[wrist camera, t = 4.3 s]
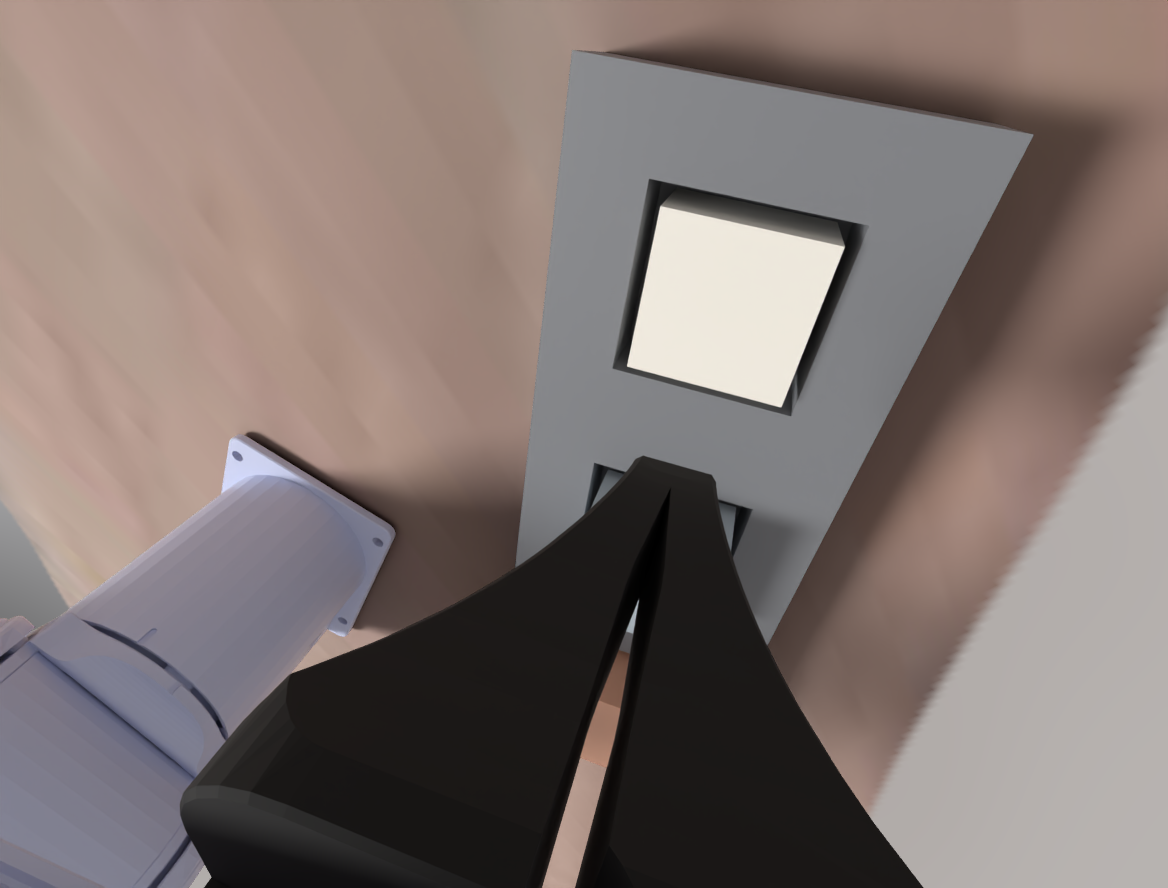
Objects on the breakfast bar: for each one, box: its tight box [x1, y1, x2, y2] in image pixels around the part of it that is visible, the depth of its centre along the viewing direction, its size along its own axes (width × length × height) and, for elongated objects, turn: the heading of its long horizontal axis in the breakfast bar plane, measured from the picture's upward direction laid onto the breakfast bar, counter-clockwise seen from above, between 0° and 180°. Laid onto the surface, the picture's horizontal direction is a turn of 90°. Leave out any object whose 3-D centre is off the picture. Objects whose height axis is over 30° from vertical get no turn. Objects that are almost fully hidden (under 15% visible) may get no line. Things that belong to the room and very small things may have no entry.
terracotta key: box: [580, 650, 630, 768], centre depth 23 cm, size 4×4×2 cm
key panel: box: [515, 50, 1033, 654], centre depth 20 cm, size 25×9×2 cm, turn 171°
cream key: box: [627, 188, 845, 407], centre depth 15 cm, size 4×4×2 cm
